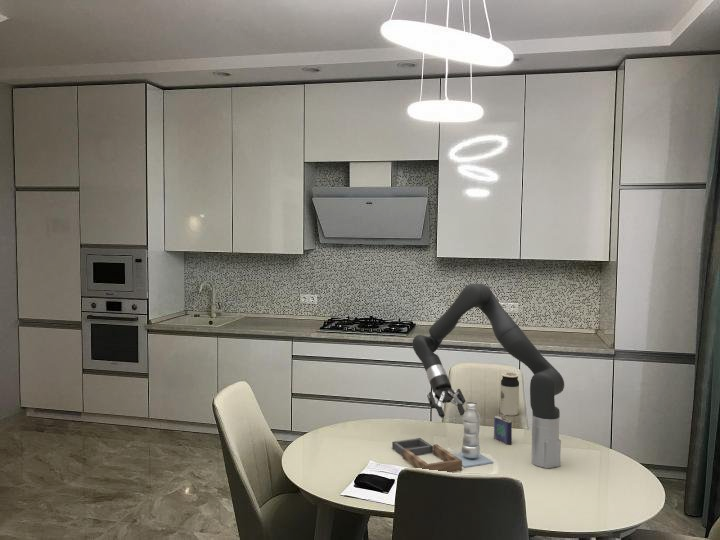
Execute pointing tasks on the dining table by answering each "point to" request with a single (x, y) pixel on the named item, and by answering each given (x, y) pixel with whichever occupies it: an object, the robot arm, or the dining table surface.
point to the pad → (473, 460)
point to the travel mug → (509, 394)
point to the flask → (503, 429)
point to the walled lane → (448, 464)
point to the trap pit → (413, 446)
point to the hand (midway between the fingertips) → (452, 415)
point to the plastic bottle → (471, 431)
